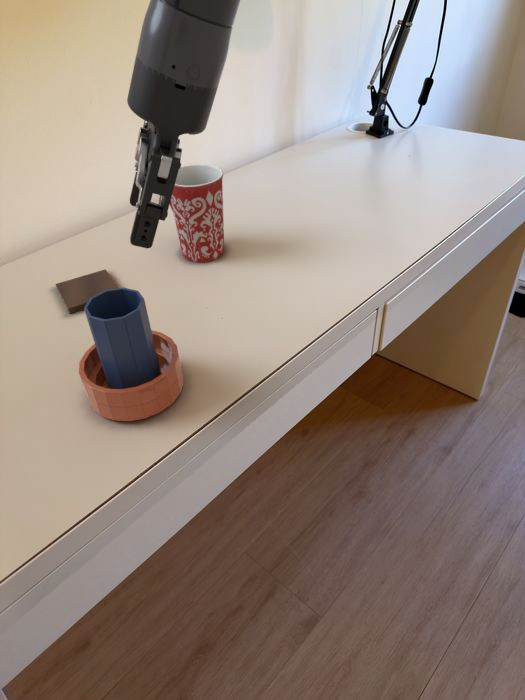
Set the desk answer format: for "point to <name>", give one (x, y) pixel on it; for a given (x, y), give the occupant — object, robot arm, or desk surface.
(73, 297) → the coaster
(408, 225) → the desk surface
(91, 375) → the bowl
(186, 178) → the mug
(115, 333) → the tumbler
